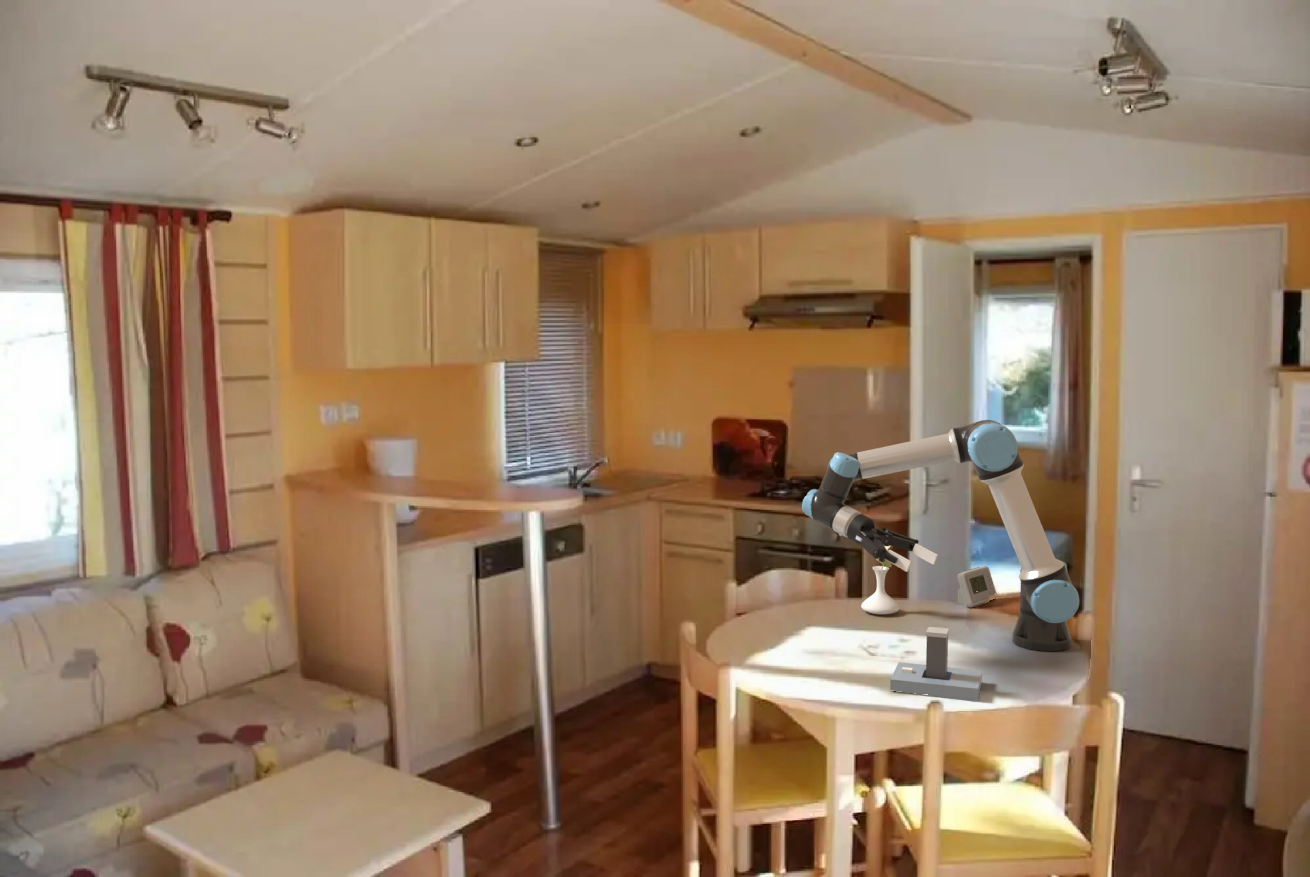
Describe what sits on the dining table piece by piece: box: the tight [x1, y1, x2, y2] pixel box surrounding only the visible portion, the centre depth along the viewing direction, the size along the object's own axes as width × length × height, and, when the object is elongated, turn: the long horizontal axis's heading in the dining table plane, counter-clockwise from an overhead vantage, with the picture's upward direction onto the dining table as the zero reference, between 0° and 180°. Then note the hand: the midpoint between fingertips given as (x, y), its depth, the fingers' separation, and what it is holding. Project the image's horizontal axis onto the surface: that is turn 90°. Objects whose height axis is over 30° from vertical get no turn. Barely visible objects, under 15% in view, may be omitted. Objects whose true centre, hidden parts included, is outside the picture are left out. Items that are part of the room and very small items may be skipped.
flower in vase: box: [860, 541, 900, 615], centre depth 323 cm, size 13×11×25 cm
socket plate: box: [889, 661, 983, 702], centre depth 257 cm, size 20×14×4 cm
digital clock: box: [956, 565, 997, 608], centre depth 335 cm, size 16×9×11 cm, turn 121°
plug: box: [925, 626, 950, 680], centre depth 257 cm, size 5×5×14 cm
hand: (922, 563), depth 267 cm, fingers open, 13 cm apart
